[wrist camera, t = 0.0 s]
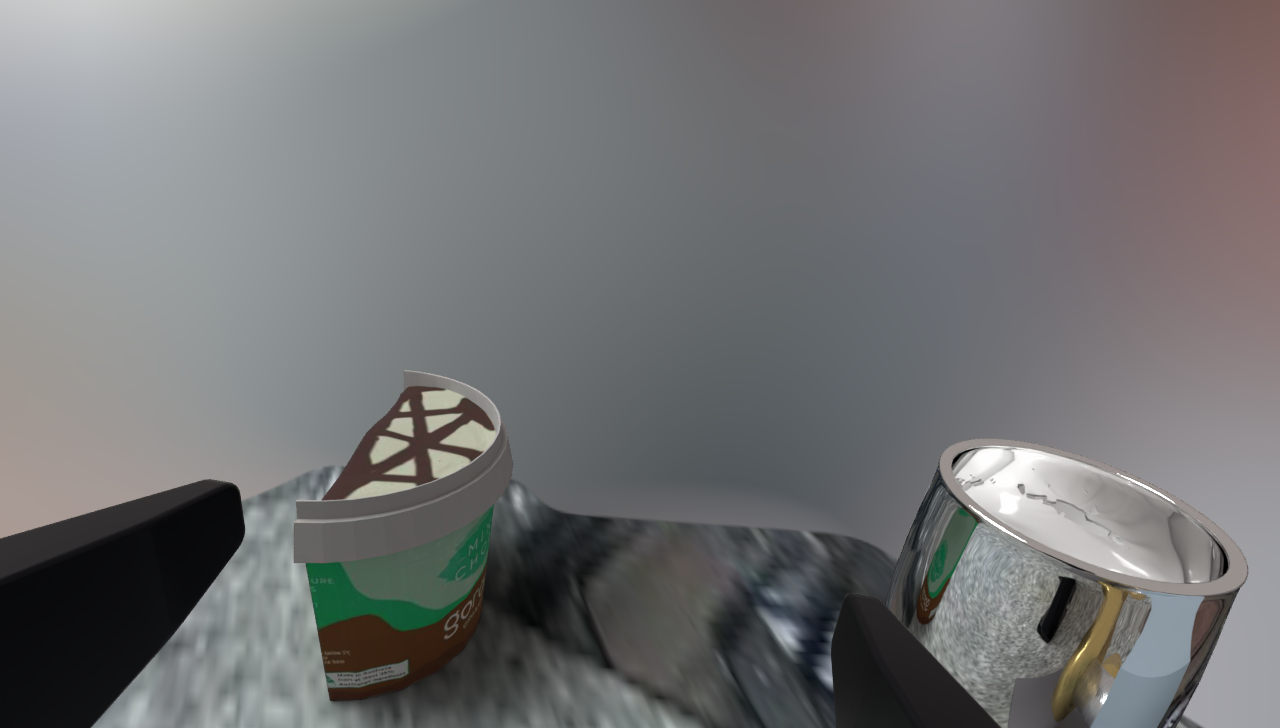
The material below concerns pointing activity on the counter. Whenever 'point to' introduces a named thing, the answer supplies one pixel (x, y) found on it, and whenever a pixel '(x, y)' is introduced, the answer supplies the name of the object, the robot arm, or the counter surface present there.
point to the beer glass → (1064, 587)
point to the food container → (405, 539)
